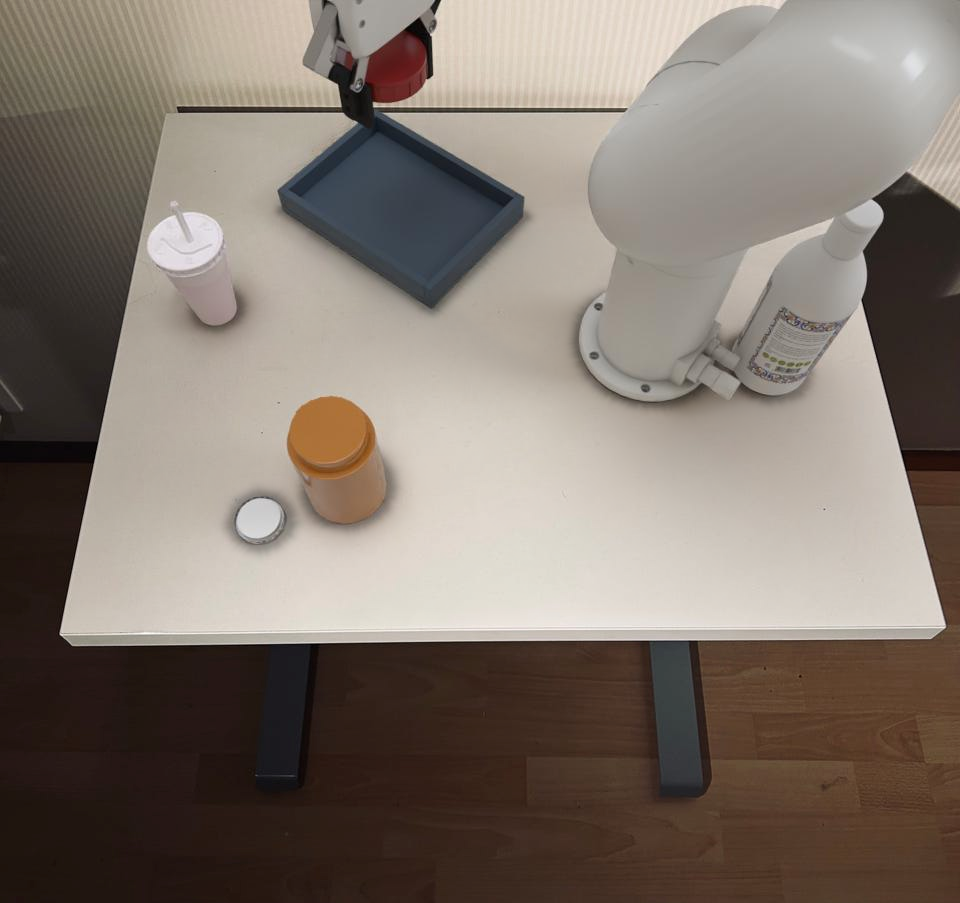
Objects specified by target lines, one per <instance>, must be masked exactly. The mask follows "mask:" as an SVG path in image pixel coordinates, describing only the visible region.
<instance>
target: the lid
mask: <svg viewBox="0 0 960 903" xmlns="http://www.w3.org/2000/svg"><path fill="white" fill-rule="evenodd" d="M353 61H354V58H353V56H352V54H350V53H348V52H347V55H346V60H345V67H347V68H349V69H350V70H352V67H353ZM427 77H428V70H427V60H426V50H425V47H424V45H423V43H422V42H421V40H420V39H419V38H418V37H416V36H415V35H414V34H412V33H410V32H408V31H406V30H402V31H401V32H400V33H399V34H397V35H396V36H395V37H394V38H392V39H391V40H390V41H388V42H387V43H386V44H384V45H383V46H382V47H381V48H379V49H378V50H376V51H375V52H374V53H372V54H370V58H369V63H368V68H367V73H366V78H365V83H367V84H368V85H369V86H370V87H371V92H372V100H373V103H377V104H392V103H393V104H394V103H398V102H402V101H405V100H407V99H409V98H412V97H413V96H415V95H416V94H417V93H419V91H420V90H422V89H423V87H424V85H425V83H426V81H427V79H426V78H427Z"/></svg>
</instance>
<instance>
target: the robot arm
mask: <svg viewBox="0 0 960 903" xmlns="http://www.w3.org/2000/svg"><path fill="white" fill-rule="evenodd" d="M441 1H442V0H308V6H309V13H310V19H311V25H312V29H313V33H312V35H311V38H310V40H309V43H308V45H307V48H306V50H305V52H304V55H303V57H302V65H303V66H304V67H305V68H306V69H308V70H310V71H312V72H313V73H316V75H319V76H321V77H323V78H324V79H325V80H326V79H327V80H329V81H330V82H332V83H334V84H336V85H337V88H338V94H339V99H340V100H339V101H340V106H341V107H340V108H341V111H342V113H343V114H344V115H345V116H346V118H347V119H350V120H351V121H354V122H356V123H359V124H361V125H363V126H364V127H366V128H368V129H370V128H372V127H373V126H374V125H375V116H374V109H375V108H374V102H373V100H372V92H371V87H370V86H369V85H368V84H367V83H365V78H366V73H367V68H368V63H369V58H370V54H372V53H374V52H375V51H376V50H378V49H379V48H381V47H382V46H383V45H384V44H386V43H387V42H388V41H390V40H391V39H392V38H394V37H395V36H396V35H397V34H399V33H400V32H401V31H402V30H406V31H408V32H410V33H412V34H414V35H415V36H416V37H418V38H419V39H420V40H421V42H422V43H423V45H424V47H425V50H426V60H427V70H428V77H427V78H426V80H431V78H432V77H434V58H433V57H434V54H433V52H434V50H433V36H432V35H431V34H433V33H434V32H435V31H436V29H437V26H438V21H437V17H436V13H437V11H438V9H439V7H440V4H441ZM347 52H348V53H350V54H352V56H353V58H354V61H353V67H352V70H350V69H349V68H347V67H345V60H346V55H347ZM959 97H960V0H785V1H784V2H783V4H782V5H780V8H776V7H772V6H768V5H759V4H758V5H757V4H755V5H753V4H752V5H743V6H738V7H735V8H730V9H728V10H726V11H724V12H720V13H719V14H718V15H716V16H713V17H712V18H710V19H709V20H708V21H706V22H705V23H703V24H701V25H700V26H699V27H698V28H697V29H695V30H694V31H693V32H692V33H691V34H690V35H689V36H688V37H687V38H686V39H685V40H684V41H683V42H682V43H681V44H680V45H679V46H678V47H677V48H676V49H675V50H674V52H673V53H672V54H671V55H670V57H669V58H668V59H667V60H666V61H665V63H664V64H663V65H662V66H661V67H660V68H659V70H658V71H657V72H656V73H655V74H654V76H652V78H651V79H650V80H649V81H648V83H647V84H646V85H645V88H643V90H641V92H640V94H639V95H638V96H637V97H636V98H635V100H634V101H633V102H631V104H630V106H629V107H628V108H627V109H626V110H625V111H624V112H623V114H622V115H621V116H620V117H619V118H618V120H617V121H616V122H615V124H614V125H613V126H612V127H611V128H610V130H609V131H608V132H607V134H606V135H605V136H604V137H603V139H602V141H601V142H600V144H599V146H598V147H597V149H596V151H595V152H594V155H593V158H592V161H591V164H590V168H589V171H588V177H587V198H588V199H587V200H588V203H589V209H590V212H591V215H592V218H593V220H594V222H595V225H596V226H597V228H598V229H599V231H600V233H601V234H602V236H603V237H604V238H605V239H606V240H607V241H608V242H609V243H610V245H612V246H613V247H615V248H616V251H615V255H614V258H613V263H612V267H611V271H610V275H609V279H608V283H607V287H606V291H605V292H603V293H601V294H600V295H599V296H598V297H596V298H595V299H594V300H593V301H592V302H591V304H590V305H588V307H587V308H586V310H585V312H584V315H583V317H582V319H581V323H580V325H579V332H578V334H579V335H578V346H579V352H580V355H581V357H582V361H583V363H584V364H585V366H586V367H587V369H588V371H589V372H590V373H591V374H592V375H593V377H595V379H596V380H597V381H598V382H599V383H601V384H602V385H603V386H604V387H606V388H607V389H608V390H610V391H612V392H614V393H616V394H617V395H620V396H622V397H625V398H628V399H631V400H635V401H641V402H664V401H665V402H666V401H670V400H674V399H678V398H680V397H683V396H685V395H687V394H689V393H690V392H692V391H693V390H695V389H696V388H698V387H699V386H700V385H701V384H704V386H706V387H708V388H710V389H711V391H713V392H714V393H716V394H718V395H719V396H721V397H722V398H724V399H726V400H727V401H729V400H730V399H731V398H732V397H733V395H734V394H735V392H736V391H737V390H738V388H739V386H740V385H741V383H742V382H741V381H740V380H739V379H738V378H737V377H735V376H733V375H731V374H730V373H729V372H727V371H725V370H721V369H720V368H718V367H716V366H715V365H714V363H715V361H717V362H718V363H720V365H722V366H724V368H727V369H728V370H730V371H732V372H734V369H735V368H736V366H737V365H738V363H739V362H740V360H741V357H740V356H738V355H736V354H735V353H733V352H732V350H728V349H727V348H725V347H723V346H721V345H720V343H721V341H720V340H718V339H717V335H718V333H719V331H720V330H721V327H722V324H721V323H720V322H719V321H717V320H716V318H717V316H718V315H719V311H720V309H721V308H722V305H723V303H724V301H725V299H726V297H727V295H728V293H729V290H730V289H731V287H732V284H733V282H734V280H735V277H736V275H737V274H738V271H739V269H740V267H741V264H742V262H743V261H744V258H745V256H746V255H747V253H748V251H749V249H750V248H752V247H755V246H758V245H762V244H764V243H767V242H769V241H773V240H775V239H779V238H781V237H783V236H786V235H790V234H792V233H796V232H798V231H802V230H804V229H807V228H809V227H812V226H815V225H819V224H821V223H823V222H826V221H829V220H832V219H834V218H835V217H837V216H839V215H842V214H844V213H846V212H849V211H851V210H853V209H855V208H857V207H859V206H860V205H862V204H864V203H866V202H867V201H869V200H870V199H871V200H873V198H875V197H876V196H878V195H880V194H881V193H883V192H884V191H885V190H887V189H888V188H889V187H891V186H892V185H893V184H894V183H896V182H897V181H898V180H899V179H900V178H901V177H903V176H904V175H905V174H906V173H907V172H908V171H909V169H911V167H912V166H914V164H915V163H916V162H917V161H918V160H919V158H920V157H921V156H922V154H923V153H924V152H925V151H926V149H927V147H928V146H929V145H930V144H931V142H932V140H933V139H934V137H935V136H936V134H937V132H938V130H939V129H940V128H941V126H942V124H943V122H944V121H945V118H946V117H947V115H948V114H949V112H950V111H951V109H952V107H953V105H954V104H955V102H956V100H957V99H958V98H959Z"/></svg>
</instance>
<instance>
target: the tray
mask: <svg viewBox="0 0 960 903" xmlns="http://www.w3.org/2000/svg"><path fill="white" fill-rule="evenodd" d="M374 116H375V125H374V126H373V127H372V128H370V129H368V128H366V127H364V126H363V125H361V124H359V123H358V122H356V124H355V125H353V126H352V127H351V128H350V129H349V130H348V131H346V132H345V133H344V134H343V135H341V137H339V138H338V139H337V140H335V142H332V144H331V145H329V146H328V147H327V148H326V149H325V150H323V151H322V152H321V153H320V154H319V155H317V156H316V157H315V158H314V159H312V160H311V161H310V162H309V163H308V164H306V165H305V166H304V167H303V168H302V169H301V170H299V171H298V172H297V173H296V174H294V176H292V177H291V178H290V179H288V180H287V181H286V182H285V183H284V184H282V185H281V186H280V187H279V188H278V189H277V195H278V198H279V202H280V205H281V209H282V212H285V214H287V215H289V216H291V217H292V218H294V219H296V220H297V221H298V222H300V223H302V225H305V226H306V227H308V228H309V229H311V231H313V232H315V233H317V234H318V235H319V236H321V237H322V238H324V239H326V240H327V241H329V242H330V243H331V244H333V245H335V246H336V247H337V248H339V249H341V250H342V251H344V252H345V253H347V254H348V255H350V256H352V257H353V258H354V259H356V260H357V261H359V262H360V263H362V264H363V265H365V266H366V267H368V268H369V269H371V270H373V271H374V272H376V273H377V274H378V275H380V276H381V277H383V278H384V279H386V280H387V281H389V282H391V283H392V284H394V285H395V286H397V287H398V288H400V289H402V290H403V291H404V292H405V293H407V294H409V295H410V296H412V297H413V298H415V299H417V300H418V301H420V302H421V303H423V304H424V305H425V306H427V307H428V308H430V309H433V308H434V307H435V306H436V305H437V304H438V303H439V302H440V301H441V300H442V298H444V297H445V295H447V294H448V293H449V291H451V290H452V289H453V288H454V287H455V285H456V284H457V283H459V282H460V281H461V280H462V279H463V278H464V277H465V276H466V275H467V274H468V273H469V271H470V270H471V269H473V268H474V267H475V266H476V265H477V264H478V263H479V261H481V259H482V258H484V257H485V255H486V254H487V253H489V251H491V250H492V249H493V248H494V247H495V245H496V244H498V242H500V240H501V239H503V237H505V235H507V234H508V232H509V231H510V230H512V228H514V227H515V225H517V224H518V222H520V220H521V219H522V218H523V217H524V211H525V210H524V209H525V195H523V194H521V193H519V192H517V191H516V190H514V189H512V188H510V187H509V186H508V185H506V184H504V183H502V182H500V181H499V180H497V179H495V178H493V177H492V176H491V175H488V174H486V173H485V172H484V171H482V170H480V169H479V168H476V167H475V166H473V165H471V164H470V163H468V162H467V161H465V160H463V159H462V158H459V157H457V156H456V155H454V154H453V153H452V152H449V151H448V150H446V149H444V148H443V147H442V146H439V144H438V145H437V144H436V143H434V142H433V141H431V140H429V139H427V138H425V137H424V136H423V135H421V134H419V133H418V132H416V131H414V130H412V129H411V128H409V127H407V126H405V125H404V124H402V123H400V122H398V121H397V120H395V119H393V118H392V117H390V116H389V115H387V114H385V113H383V112H382V111H380V110H378V109H377V108H374Z"/></svg>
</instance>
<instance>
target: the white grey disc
mask: <svg viewBox="0 0 960 903" xmlns="http://www.w3.org/2000/svg"><path fill="white" fill-rule="evenodd" d="M285 516H286V515H285V511H284V509H283V507H282V505H281V504H280V503H279V502H278V501H277V500H276V499H274V498H273V497H271V496H268V495H267V496H266V495H257V496H252V497H250V498H248V499H247V500H245V501H244V502H243V503H241V504H240V505H239V506H238V508H237V510H236V512H235V514H234V519H233V523H234V528H235V531H236V533H237V534H238V535H239V537H241V538H242V539H243V541H245V542H247V543H250V544H254V545H260V544H261V545H262V544H265V543H268V542H271V541H272V540H274V539H276V537H278V536H279V534H280V533H281V532H282V530H283V529H284V526H285V521H286V517H285Z"/></svg>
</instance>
